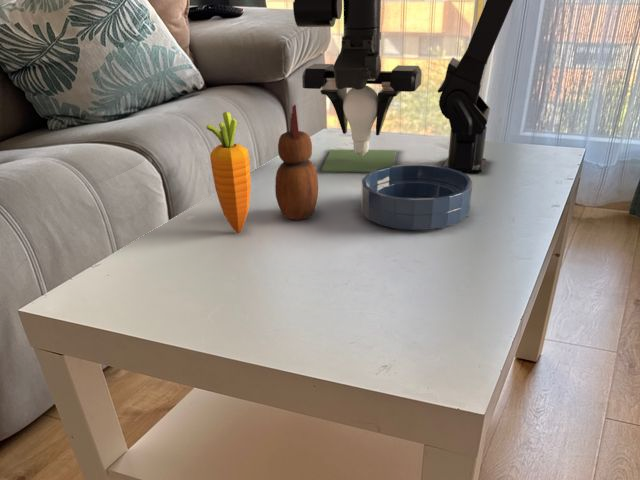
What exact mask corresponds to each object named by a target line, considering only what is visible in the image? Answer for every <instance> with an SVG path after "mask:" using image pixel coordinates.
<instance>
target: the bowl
mask: <svg viewBox="0 0 640 480" xmlns="http://www.w3.org/2000/svg"><path fill="white" fill-rule="evenodd" d="M472 191H473V181H472V179H471V177H470V176H469V175H467V174H466V173H464V172H463V171H457V170H454V169H451V168H447V167H443V166H441V165H434V164H433V165H432V164H422V163H421V164H420V163H419V164H418V163H417V164H396V165H394V166H389V167H385V168H381V169H378V170H374V171H372V172H370V173H368V172H367V174H365V175H364V176H363V178H362V179H361V200H360V201H361V203H360V205H361V207H360V208H361V214H362V215H363V216H364V217H365V218H366V219H367V220H369V221H371V222H373V223H375V224H378V225H380V226H384V227H389V228H393V229H402V230H433V229H440V228H445V227H451V226H452V225H455V224H459V223H460V222H461V221H463V220H464V219H466V218H467V217H468V215H469V213H470V207H471V200H472Z"/></svg>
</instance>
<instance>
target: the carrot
mask: <svg viewBox="0 0 640 480" xmlns="http://www.w3.org/2000/svg"><path fill="white" fill-rule="evenodd" d="M222 117H223V121H221V122H219V123H218V126H219V129H220V130H219V129H218V128H217V127H216V126H215V125H212V124H210V123H208V124H207V125H206V127H205V129H206V130H207V131H210V132H212V133H213V134H214V135H215V137H216V138H217V139H218V140H219V142H220V143H221V144H218V145H217V146H215V147H214V148H213V149H212V150H211V152H210V157H209V159H210V160H209V161H210V165H211V172H212V178H213V183H214V189H215V192H216V195H217V199H218V202H219V204H220V208H221V211H222V213H223V215H224V217H225V219H226V220H227V222H228V224H229V225H230V227H231V228H232V230H233V231H234V232H235V233H237V234H239V233H241V232H242V230H243V228H244V225H245V223H246V221H247V218H248V217H247V216H248V213H249V210H250V201H251V188H252V187H251V186H252V185H251V165H250V155H249V150H248V149H247V148H246V147H245V146H243V145H241V144H239V143H235V140H234V139H235V134H236V130H237V125H238V121H237V120H236V119H235V118H232V115H231V113H230V112H229V111H224V112H222Z"/></svg>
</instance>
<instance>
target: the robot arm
mask: <svg viewBox="0 0 640 480" xmlns="http://www.w3.org/2000/svg"><path fill="white" fill-rule="evenodd" d="M513 2H514V0H486V1H485V4H484V6H483V8H482V11H481V14H480V16H479V18H478V20H477V23H476V25H475V28H474V31H473V33H472V36H471V39H470V41H469V43H468V45H467V48H466V50H465V51H464V53H463V55H462V57H461V59H460V60H458V59H456V58H455V57H451V59H450V60H449V63H448V64H447V69H446V73H445V76H444V80H442V82H441V83H440V86H439V87H438V89H437V93H440V96H439V100H438V107H439V110H440V113H441V114H442V115H443V116H444V118H445V119H447V120H448V123H449V125H450V135H449V146H448V157H447V158H446V159H445V160H446V161H445V162H444V164H443V165H442V167H447V168H451V169H454V170H457V171H460V172H463V173H464V172H465V173H483V171H484V168H485V165H486V163H487V159H486V158H484V152H485V145H486V144H485V143H486V136H487V128H488V127H487V125H488V119H489V115H490V111H491V108H490V106H489V105H488V104H487V103H486V101H484V99H483V98H482V97H481V96H480V92H481V88H482V84H483V80H484V76H485V72H486V69H487V64H488V61H489V58H490V55H491V54H492V51H493V48H494V46H495V44H496V42H497V39H498V37H499V35H500V32H501V30H502V28H503V26H504V24H505V21H506V18H507V16H508V14H509V12H510V9H511V7H512V4H513ZM292 5H293V6H292V10H293V17H294V22H295V25H296V26H297V27H298V28H333V27H334V26H335V25H336V21H337V20H340V19H341V18H342V15H343V36H341V48H340V51H339V54H338V55H337V58H336V59H335V62H334V63H313V64H311V65H309V66H308V67H306V68H305V69H304V70H303V72H302V77H301V79H302V80H301V82H302V83H301V84H302V88H303V89H306V90H307V89H311V90H320V89H321V90H320V92H319V93H320V95H323V96H326V97H327V98H328V99H329V100H330V102H331V104H332V107H333V108H334V111H335V113H336V118H337V120H338V122H339V125H340V129H341V132H342V134H343V135H346V134H347V132H348V124H349V122H348V120H347V118H346V116H345V114H344V110H343V103H344V98H345V96H346V94H347V93H348V91H347V90H348V89H352V88H354V89H356V90H359V89H363V88H364V87H365V86H367V85H381V90H379V91H378V93H377V95H378V111H377V117H376V120H375V135H376V136H379V135H380V133H381V131H382V128H383V125H384V123H385V120H386V117H387V114H388V111H389V109H390V107H391V104H392V102H393V100H394V98H395V97H397V96H399V94H400V93H401V92H403V93H405V92H409V93H411V92H416V90H418V89H419V87H420V86H421V85H422V76H423V75H422V69H421V68H420V66H419V65H396V66H395V67H394V68H393V69H392V70H391V71H389V70H387V71H386V70H382V59H381V56H380V55H381V40H382V31H381V16H382V0H294V1H293V2H292Z"/></svg>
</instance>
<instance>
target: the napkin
mask: <svg viewBox="0 0 640 480" xmlns="http://www.w3.org/2000/svg"><path fill="white" fill-rule="evenodd" d="M396 155H397V150H395V149H394V150H393V149H392V150H391V149H390V150H389V149H388V150H387V149H386V150H385V149H384V150H382V149H381V150H380V149H368V152H367V153H365V154H364V155H363V156H359V155H358V154H357V153H355V152H354V149H330V150H329V152H328V155H327V157H326V159H325V162H324V164H323V167H322V169H321V172H322V173H367V174H368V173H370V172H372V171H374V170H378V169H381V168H385V167H389V166H395V161H396Z"/></svg>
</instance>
